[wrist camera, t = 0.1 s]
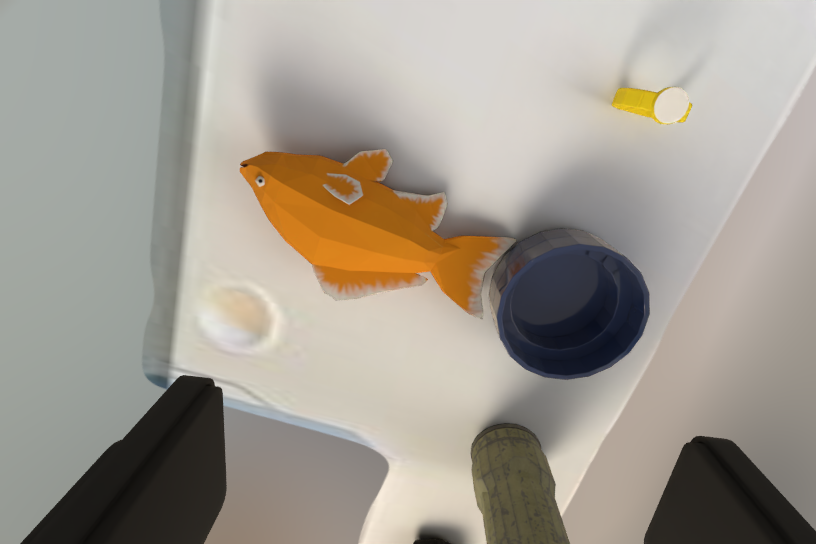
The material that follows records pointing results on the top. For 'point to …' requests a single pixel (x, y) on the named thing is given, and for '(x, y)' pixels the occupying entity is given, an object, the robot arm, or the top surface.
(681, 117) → the watch
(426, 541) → the tape measure
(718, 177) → the top surface
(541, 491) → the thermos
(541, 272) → the navy bowl
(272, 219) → the fish
